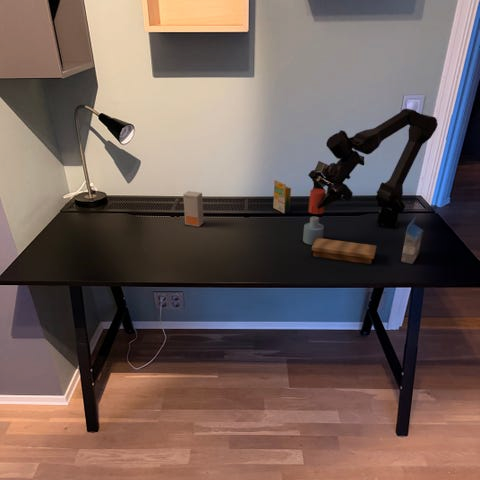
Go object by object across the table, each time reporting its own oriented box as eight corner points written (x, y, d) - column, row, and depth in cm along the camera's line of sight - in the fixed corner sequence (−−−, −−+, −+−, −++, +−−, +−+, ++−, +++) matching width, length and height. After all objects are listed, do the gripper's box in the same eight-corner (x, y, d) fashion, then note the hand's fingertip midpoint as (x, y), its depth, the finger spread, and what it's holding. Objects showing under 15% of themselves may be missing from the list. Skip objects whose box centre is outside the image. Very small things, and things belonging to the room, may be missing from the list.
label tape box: (412, 264, 147) (420, 228, 140) (399, 261, 149) (407, 226, 142) (419, 253, 153) (427, 219, 146) (407, 251, 155) (414, 216, 148)
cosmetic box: (185, 224, 175) (182, 194, 168) (190, 220, 178) (187, 190, 171) (199, 227, 173) (197, 196, 166) (204, 223, 176) (202, 192, 169)
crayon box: (289, 212, 185) (291, 183, 178) (284, 213, 183) (285, 184, 177) (278, 206, 190) (279, 178, 183) (273, 208, 188) (274, 180, 182)
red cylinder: (324, 209, 157) (326, 189, 153) (322, 214, 153) (324, 194, 149) (310, 207, 158) (311, 187, 154) (307, 213, 154) (309, 192, 150)
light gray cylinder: (323, 238, 164) (326, 215, 159) (320, 246, 158) (322, 223, 154) (305, 235, 166) (306, 213, 161) (301, 243, 160) (302, 220, 156)
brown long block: (374, 255, 152) (376, 245, 150) (372, 265, 147) (374, 255, 145) (315, 247, 158) (316, 237, 156) (311, 256, 152) (311, 247, 150)
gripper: (315, 145, 153) (285, 183, 155) (349, 159, 139) (316, 200, 141) (332, 165, 160) (303, 201, 162) (366, 180, 146) (334, 219, 148)
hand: (313, 205), depth 153 cm, fingers closed on red cylinder, 5 cm apart
